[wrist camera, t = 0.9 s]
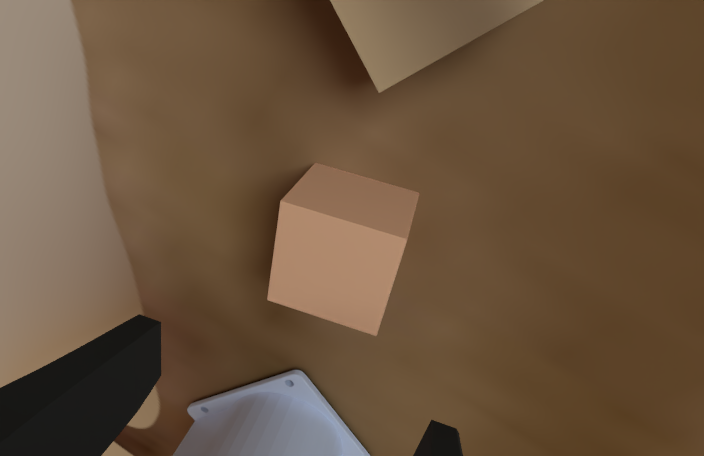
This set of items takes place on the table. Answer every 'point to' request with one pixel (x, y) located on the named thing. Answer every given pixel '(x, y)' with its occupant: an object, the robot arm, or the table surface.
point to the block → (340, 246)
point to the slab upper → (417, 31)
